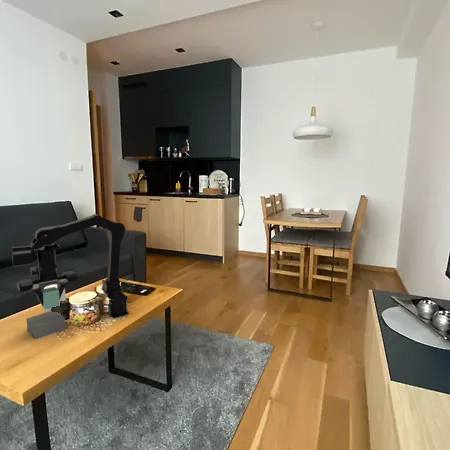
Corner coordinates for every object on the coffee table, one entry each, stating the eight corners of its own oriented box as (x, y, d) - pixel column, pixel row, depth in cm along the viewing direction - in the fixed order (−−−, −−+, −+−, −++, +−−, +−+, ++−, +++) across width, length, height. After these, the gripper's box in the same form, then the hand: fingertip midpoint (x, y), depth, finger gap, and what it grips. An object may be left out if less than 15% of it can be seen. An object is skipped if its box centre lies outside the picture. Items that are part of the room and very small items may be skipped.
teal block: (56, 301, 114) (55, 286, 113) (60, 305, 111) (58, 290, 110) (41, 305, 111) (40, 289, 110) (44, 309, 107) (43, 293, 106)
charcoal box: (55, 321, 121) (54, 309, 120) (65, 329, 114) (64, 317, 113) (27, 330, 113) (26, 318, 113) (36, 339, 107) (34, 326, 106)
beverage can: (70, 309, 131) (68, 283, 129) (58, 318, 123) (56, 290, 121) (53, 309, 132) (51, 283, 130) (40, 317, 124) (37, 290, 122)
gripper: (68, 254, 121) (71, 290, 123) (12, 262, 108) (16, 303, 110) (76, 259, 113) (79, 298, 115) (17, 268, 100) (22, 312, 102)
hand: (50, 302), depth 111 cm, fingers closed on teal block, 5 cm apart
